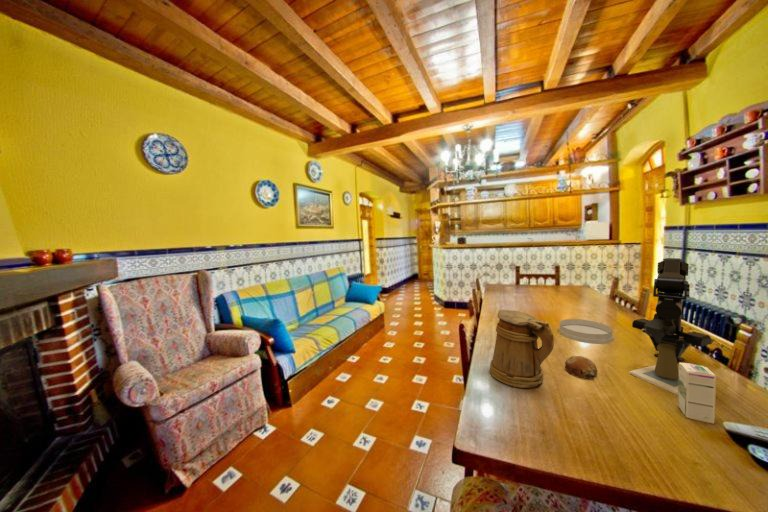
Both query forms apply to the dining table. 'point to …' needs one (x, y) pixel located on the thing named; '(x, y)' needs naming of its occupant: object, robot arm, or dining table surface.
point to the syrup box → (696, 392)
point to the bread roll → (581, 367)
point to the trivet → (656, 379)
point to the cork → (667, 361)
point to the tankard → (520, 349)
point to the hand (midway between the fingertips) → (667, 354)
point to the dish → (586, 331)
